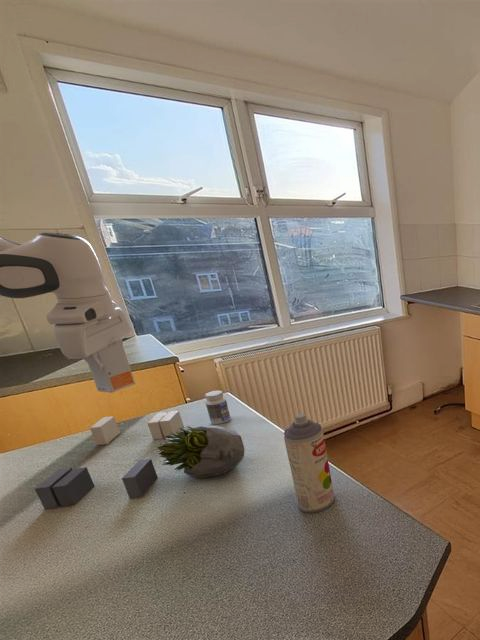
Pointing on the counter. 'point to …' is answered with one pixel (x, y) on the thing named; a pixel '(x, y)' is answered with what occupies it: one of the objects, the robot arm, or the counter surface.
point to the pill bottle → (217, 407)
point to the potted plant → (203, 450)
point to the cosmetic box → (113, 368)
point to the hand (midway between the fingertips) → (109, 364)
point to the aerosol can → (309, 465)
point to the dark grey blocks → (91, 484)
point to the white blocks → (157, 425)
